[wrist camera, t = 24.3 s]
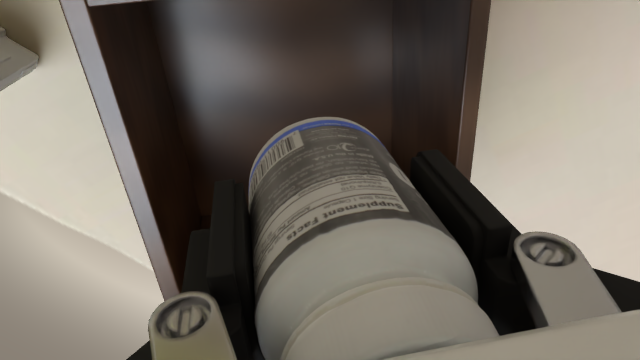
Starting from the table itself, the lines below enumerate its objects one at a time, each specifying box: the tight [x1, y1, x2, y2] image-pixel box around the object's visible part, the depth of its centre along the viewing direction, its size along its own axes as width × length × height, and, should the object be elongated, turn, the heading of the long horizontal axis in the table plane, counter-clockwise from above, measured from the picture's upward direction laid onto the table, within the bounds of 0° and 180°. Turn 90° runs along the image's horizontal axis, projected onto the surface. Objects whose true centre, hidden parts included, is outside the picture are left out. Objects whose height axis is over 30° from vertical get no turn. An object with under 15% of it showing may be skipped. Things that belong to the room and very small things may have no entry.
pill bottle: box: [248, 117, 499, 360], centre depth 10 cm, size 5×5×8 cm
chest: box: [59, 0, 491, 301], centre depth 22 cm, size 16×15×10 cm
